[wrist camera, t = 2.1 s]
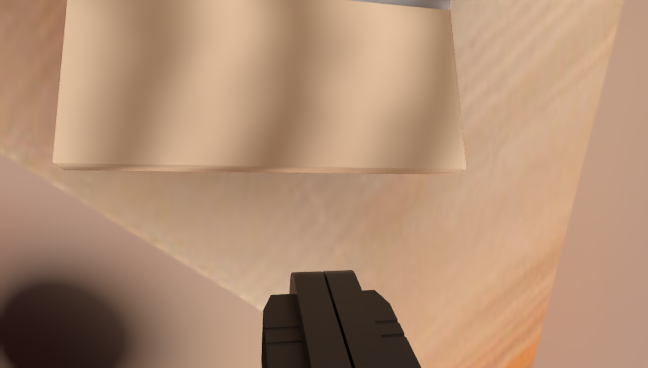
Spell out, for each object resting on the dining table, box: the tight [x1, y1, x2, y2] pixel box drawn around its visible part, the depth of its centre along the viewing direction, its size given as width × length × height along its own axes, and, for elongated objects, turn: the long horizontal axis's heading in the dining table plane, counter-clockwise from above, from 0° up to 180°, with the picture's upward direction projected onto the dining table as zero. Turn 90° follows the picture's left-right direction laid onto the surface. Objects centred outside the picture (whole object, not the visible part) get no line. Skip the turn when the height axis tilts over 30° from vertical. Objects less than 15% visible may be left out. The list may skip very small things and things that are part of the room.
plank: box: [52, 0, 466, 174], centre depth 20 cm, size 18×8×1 cm
